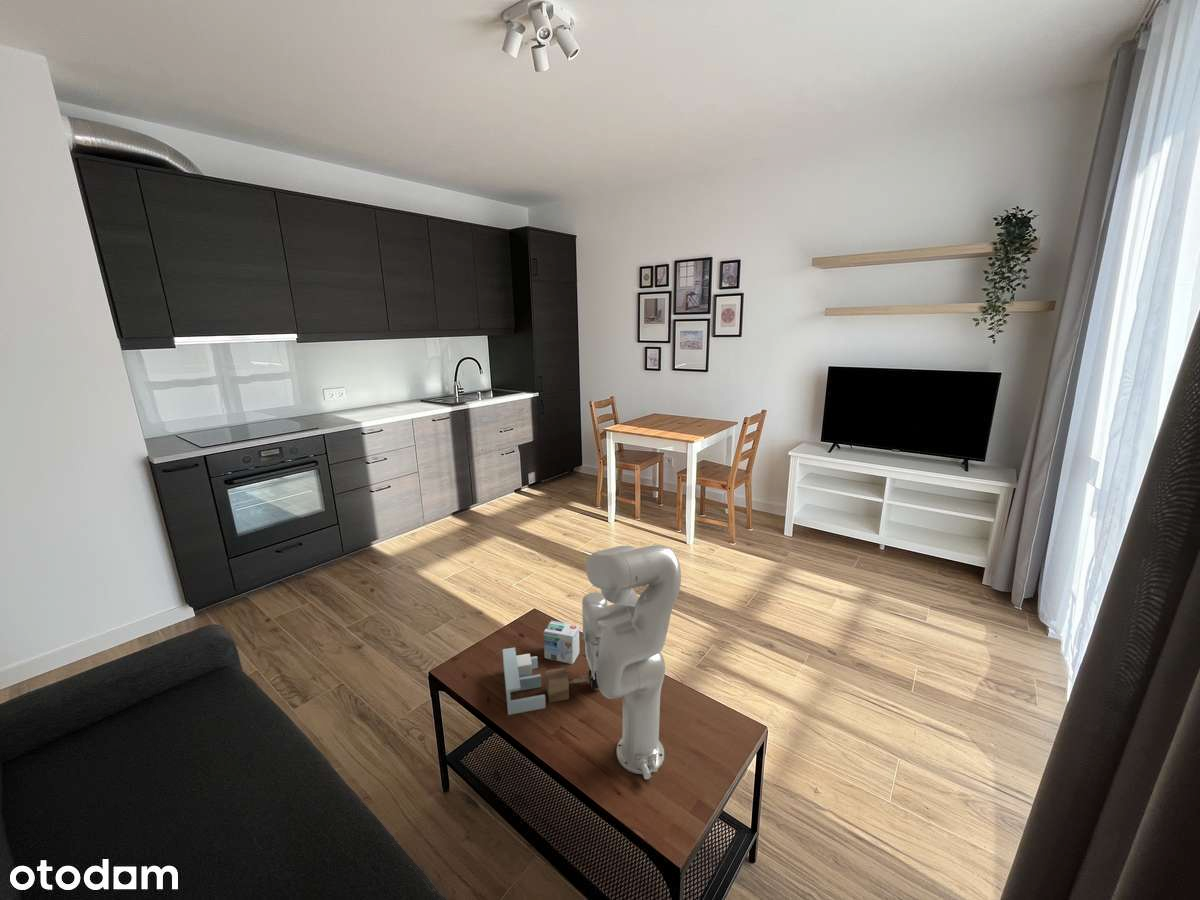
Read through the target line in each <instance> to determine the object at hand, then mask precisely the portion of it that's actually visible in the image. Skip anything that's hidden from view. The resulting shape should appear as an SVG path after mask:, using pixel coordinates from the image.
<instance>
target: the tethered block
mask: <svg viewBox="0 0 1200 900" xmlns="http://www.w3.org/2000/svg"><path fill="white" fill-rule="evenodd" d="M595 674H596V672H595ZM591 678H592V672H591V677H589V676H586V677H581V678H576V679H572V680H569V676H568V673H567V670H566V667H559V668H554V669H549V670H548V669H547V670H546V671H545V679H546V680H545V685H546V693H547V698H548V702H549V703H556V702H559V701H560V702H561V701H565V700H569V699H570V691H569V689H570V685H573V684H578V683H583V682H589V680H591ZM590 684H591V685H590V688H591V689H592V682H590ZM592 690H594V691H597V690H599V688H598V689H592Z"/></svg>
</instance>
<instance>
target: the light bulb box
mask: <svg viewBox="0 0 1200 900" xmlns="http://www.w3.org/2000/svg"><path fill="white" fill-rule="evenodd" d="M543 639H544V640H543V641H544V643H543V644H544V645H543V647H544V650H543V653H544V659H547V660H551V661H555V662H556V661H557V662H561V663H566V664H569V665H573V664H574V662H575V661H576V659H577V657H578V656H579V654H580V625H577V624H573V623H568V622H567V623H566V622H561V621H555V620H550V622H549V623H548V625H547V627H546V628H545V629H544V631H543Z"/></svg>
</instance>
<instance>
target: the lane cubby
mask: <svg viewBox="0 0 1200 900" xmlns="http://www.w3.org/2000/svg"><path fill="white" fill-rule="evenodd" d="M516 656H517V652H516V647H510V648H503V649H502V658H503V659H502V662H503V663H502V664H503V675H504V685H505V697H506V698H505V699H506V706H507V707H506V708H507V716H510V715H515V714H521V713H526V712H533V711H536V710H541V709H546V708H547V707H546V706H547V705H546V695H545V694H539V695H532V696H527V697H522V698H517V699H516V698H515V699H511V696H512V695H511V693H515V692H522V691H527V690H532V689H539V688H542V674H541V673H539V674H534V675H533V674H532V676H527V677H521V678H519V672H518V665H517V658H516ZM530 657H531V663H532V670H535V669H536V670H537V669H538V668H539V664H538V663H539V662H538V656H536V655H535V656H530Z"/></svg>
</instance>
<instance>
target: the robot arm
mask: <svg viewBox="0 0 1200 900" xmlns="http://www.w3.org/2000/svg"><path fill="white" fill-rule="evenodd" d="M585 572H586V576H587V579H588V581H589V583H590V584H591V585H593V587H595V588H598V589H600V592H594V591H592V592H589V593H587V594H585V595H584V596H583V598H582V602H581V606H582V607H581V609H582V611H581V612H582V615H581V617H582V620H581V621H582V640H583V641H584V645H585V646H584V647H585V648H584V650H585V657H586V660H587V661H586V662H587V663H588V669H589V670H588V677H591V672H592V678H591V680H589V681H588V682H589V683H591V682H592V688H591V689H592V690H593V689H598V688H599V689H598V690H599V692H600V693H601V694H602V696H603V697H605V698H606V699H609V700H616V699H619V698H622V737H621V738H620V739H619V740H618V743H617V745H616V757H617V761H618V763H619V764H620V765H621V766H622V767H623V769H624V770H627V771H628V772H630V773H633V774H635V775H636V774H638V775H642V776H643V779H644V780H649V779H651V777H652V773H657V772H658V770H659V768H660V767H661V766H662V765H663V762H664V759H665V749H664V746H663V744H662V742H661V741H660V740H659V739H660V714H661V713H660V710H661V709H660V707H661V694H662V693H661V691H662V688H663V687H662V686H663V682H664V679H665V674H666V662H665V658H664V655H663V653H662V652H661V651H662V650H663V648H664V646H665V642H666V640H667V635H668V629H669V627H670V621H671V616H672V611H673V609H674V607H675V606H674V605H675V604H676V601H677V599H678V596H679V593H680V589H681V584H682V571H681V564H680V562H679V558H678V556H677V554H676V553H675V551H674V550H673V549H672V548H669V546H665V545H656V544H655V545H649V546H644V547H643V546H642V547H638V548H636V547H633V546H631V545H620V546H615V547H611V548H606V549H601V550H598V551H594V552H592V553H591V555H589V556H588V559H587V561H586V564H585ZM643 586H646V588H645V589H644V590H643V592H641V593H640V595H639V597H638V594H637V592H636V591H635V589H636V588H640V587H643ZM608 602H609V603H611V604H610V605H608ZM595 672H596V674H595Z"/></svg>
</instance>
